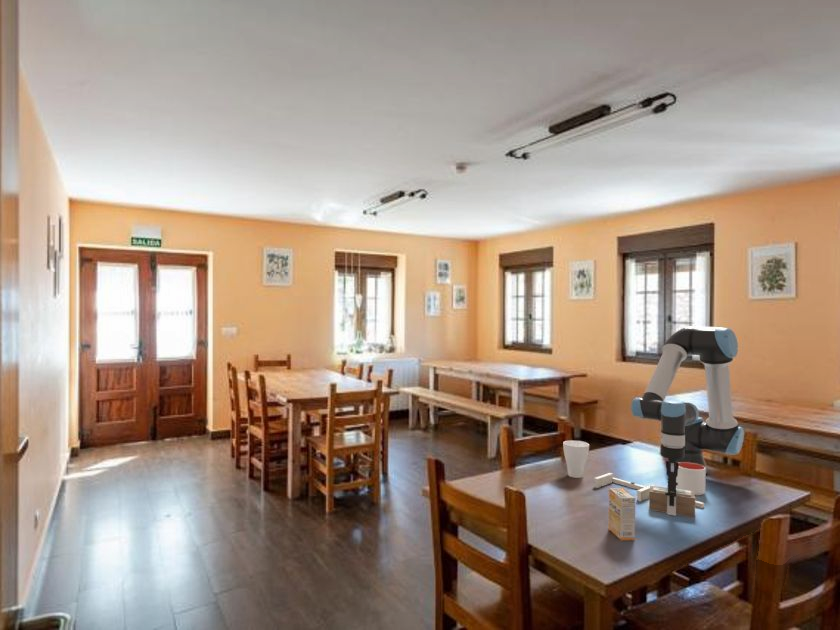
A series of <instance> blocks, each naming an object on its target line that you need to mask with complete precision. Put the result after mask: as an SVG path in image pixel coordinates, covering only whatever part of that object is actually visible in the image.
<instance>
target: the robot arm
mask: <svg viewBox="0 0 840 630" xmlns="http://www.w3.org/2000/svg"><path fill="white" fill-rule="evenodd" d="M738 347H739V346H738V339H737V335H736V333H735V332H734V331H733V330H732V329H731V328H728V327H721V326H687V327H683V328H681V329H678V330H677V331H675V332H674V333H673V334H672V335H670V337H668V339H667V340H665V342H664V344H663V346H662V347H661V353H662V355H661V356H660V359H659V361H658V363H657V365H656V367H655V370H654V371H653V373H652V376H651V377H650V380H649V382H648V384H647V387H646V388H645V391H644V393H643V395H642V397H635V398H633V399H632V401H631V404H630V410H631V413H632V415H633V416H634V417H636V418H639V419H640V418H641V419H643V420H645V419H646V420H653V421H659V422H660V434H659V435H658V437H659V438H660V443H661V445H660V452H659V453H660V456H661V457H663V458H665V459H666V458H667V460H666V461H665V468H666V476H667V488H668V493H665V495H667V512H666V515H670V516H674V517H675V516H677V514H676V489H677V488H676V485H677V486H678V483H677V482H676V477H677V476H678V468H679V464H678V463H679V462H689V463H695V464H699V465H702V466H704V467H705V468H706V474H707V473H708V472H707V469H708V468H707V464H706V461H705V459H704V455H703V450H704V451H710V452H714V453H715V452H716V453H721V454H725V455H732V456H735V455H738V454H739V453H740V451H741V450H742V447H743V443H744V440H745V437H744V436H745V430H744V427H741V426H739V422H738V420H737V419H736V418H735V417H734V412H733V402H732V401H733V400H732V387H731V377H730V376H731V375H730V374H731V373H730V364H731V363H732V362H733V361H734V358H736V357H737V356H738V351H739V350H738ZM692 355H693V356H699V362H700V363H702V364H703V365H704V373H705V384H706V385H705V386H706V397H707V405H708V409H707V411H708V417H707V418H706V419H705V420H704V418H703V417H700V416H699V415H700V411H699V409H698V408H697V406H696V405H695V404H694V403H691V402H685V401H680V400H675V399H674V400H671V399H666V397H667V395H668V392H669V390H670V388H671V387H672V384H673V381H674V379H675V377H676V374H677V373H678V370H679V368H680V367H681V365H682V362H683V361H685V360H686V359H687V357H688V356H692ZM665 399H666V400H665Z"/></svg>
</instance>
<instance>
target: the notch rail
mask: <svg viewBox="0 0 840 630" xmlns="http://www.w3.org/2000/svg"><path fill="white" fill-rule="evenodd" d="M612 482H613V483H615V484H617V485H620V486H621V485H622V486H624V487H627V488H631V489H634V490H636V501H639V502H642V501H645V500H648V499H649V491H650V485H651V486H653V485H654V486H657V485H655V484H650V485H647V486H645V485H641V484H638V483H636V482H634V481H631V482H630V481H628V480H623V479H620V478H616V477H614V473H612V472H608V473H606V474H602V475H599V476H596V477H594V481H593V487H594V488H596V489H598V488H601V486H602V487H604V486H606V485H609V484H612ZM696 507H697V508H699V509H700V508H701V509H704V508H705V503H704V502H702V501H698V500H695V508H696Z"/></svg>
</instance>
